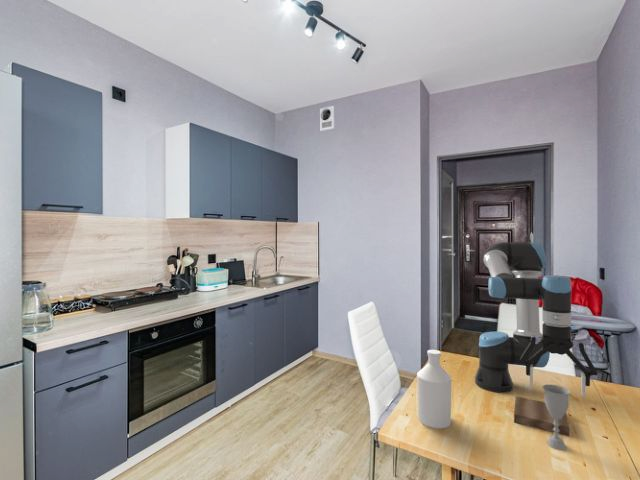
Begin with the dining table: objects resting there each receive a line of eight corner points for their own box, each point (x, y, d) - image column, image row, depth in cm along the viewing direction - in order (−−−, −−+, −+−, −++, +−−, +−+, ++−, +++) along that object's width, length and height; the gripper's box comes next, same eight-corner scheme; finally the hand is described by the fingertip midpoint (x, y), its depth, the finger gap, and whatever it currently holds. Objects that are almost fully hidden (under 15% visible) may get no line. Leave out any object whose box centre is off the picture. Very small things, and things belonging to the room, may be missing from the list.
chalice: (565, 441, 110) (566, 386, 110) (573, 453, 104) (574, 395, 103) (539, 436, 112) (540, 383, 112) (546, 449, 106) (546, 392, 106)
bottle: (432, 431, 116) (431, 359, 115) (410, 415, 127) (410, 348, 126) (458, 424, 120) (458, 354, 120) (435, 408, 131) (435, 344, 131)
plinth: (514, 422, 121) (514, 414, 121) (515, 403, 135) (515, 396, 135) (569, 436, 113) (569, 427, 113) (564, 414, 126) (564, 406, 126)
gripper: (511, 321, 111) (511, 385, 111) (609, 332, 98) (609, 405, 98) (512, 317, 117) (512, 377, 117) (604, 326, 104) (604, 395, 104)
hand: (556, 390), depth 108 cm, fingers open, 13 cm apart
